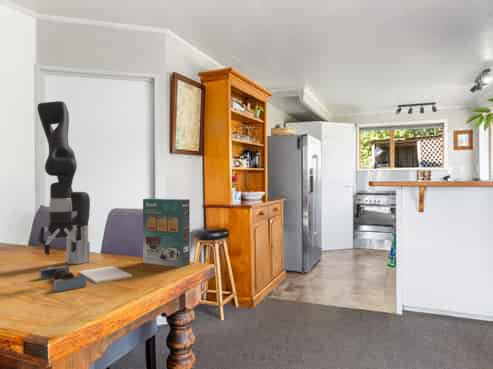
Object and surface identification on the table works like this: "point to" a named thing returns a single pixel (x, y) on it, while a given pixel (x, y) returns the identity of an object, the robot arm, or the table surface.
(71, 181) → the robot arm
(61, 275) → the bolt
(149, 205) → the cake mix box
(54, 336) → the table surface
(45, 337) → the table surface
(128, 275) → the board
